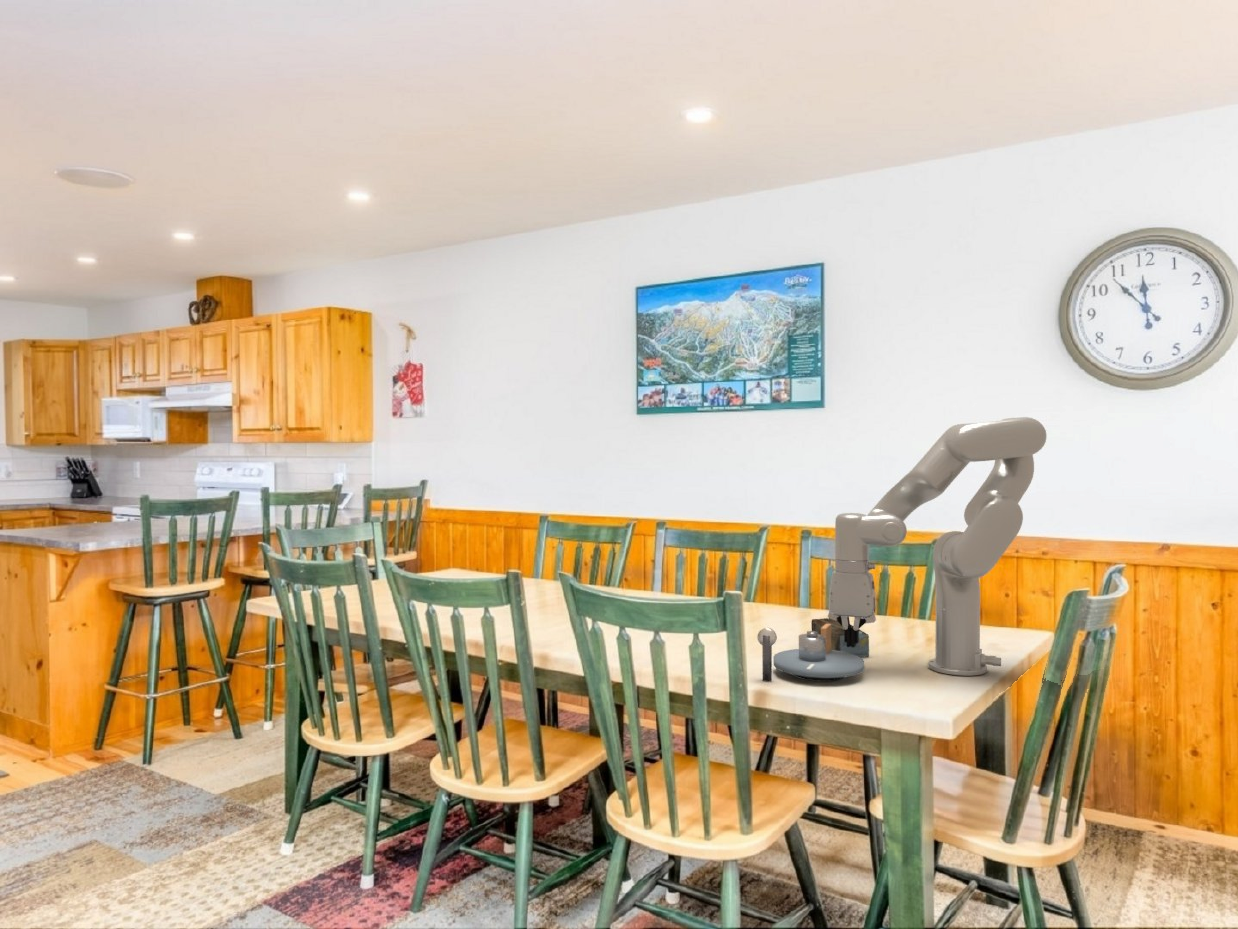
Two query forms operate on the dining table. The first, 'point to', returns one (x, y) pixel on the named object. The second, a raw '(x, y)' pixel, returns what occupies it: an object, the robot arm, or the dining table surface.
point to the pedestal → (818, 678)
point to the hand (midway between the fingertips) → (851, 645)
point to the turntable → (830, 668)
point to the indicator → (767, 651)
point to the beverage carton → (842, 638)
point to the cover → (812, 647)
